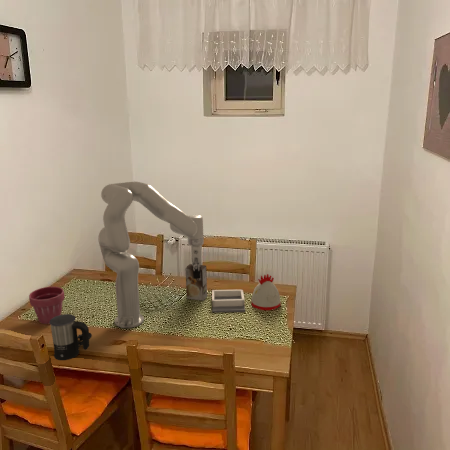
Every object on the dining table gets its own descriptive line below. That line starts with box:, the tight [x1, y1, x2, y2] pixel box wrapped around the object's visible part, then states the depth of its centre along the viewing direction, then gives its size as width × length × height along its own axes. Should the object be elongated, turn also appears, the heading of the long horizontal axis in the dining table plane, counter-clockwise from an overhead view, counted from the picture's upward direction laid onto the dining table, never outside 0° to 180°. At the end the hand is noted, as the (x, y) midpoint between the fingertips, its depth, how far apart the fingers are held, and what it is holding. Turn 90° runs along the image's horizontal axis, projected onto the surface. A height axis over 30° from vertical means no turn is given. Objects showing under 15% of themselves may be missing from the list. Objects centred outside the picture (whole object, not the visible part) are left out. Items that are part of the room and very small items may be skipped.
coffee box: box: [184, 263, 208, 301], centre depth 218 cm, size 9×6×16 cm
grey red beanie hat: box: [250, 273, 281, 311], centre depth 210 cm, size 14×14×15 cm
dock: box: [211, 289, 246, 314], centre depth 213 cm, size 20×15×4 cm
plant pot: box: [28, 286, 66, 325], centre depth 197 cm, size 14×14×13 cm
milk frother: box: [49, 313, 93, 361], centre depth 173 cm, size 14×16×15 cm
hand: (197, 274), depth 217 cm, fingers open, 9 cm apart
